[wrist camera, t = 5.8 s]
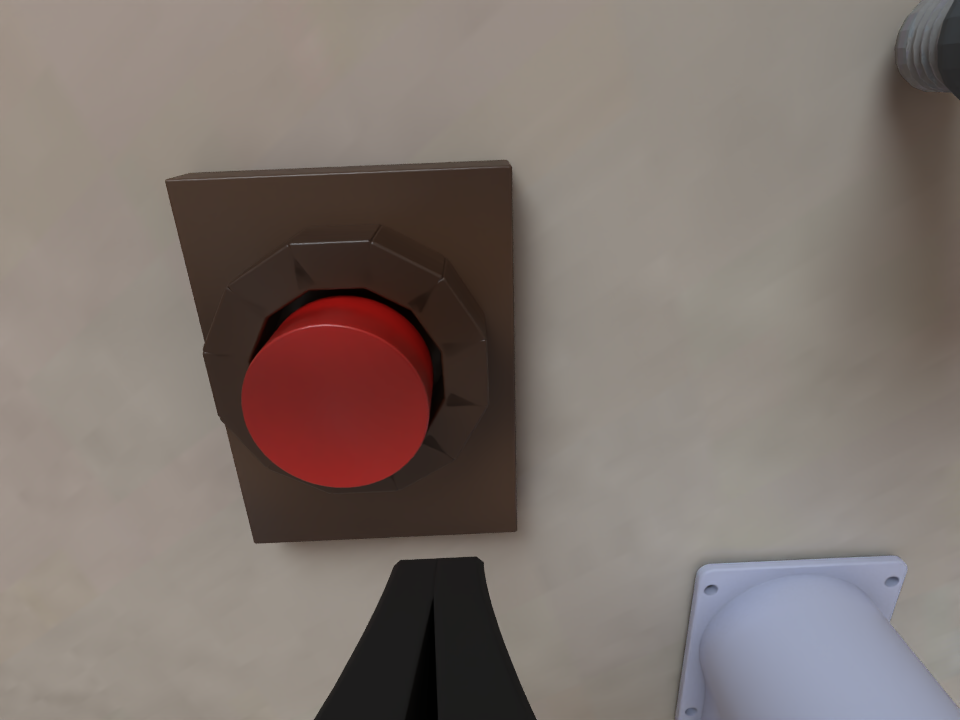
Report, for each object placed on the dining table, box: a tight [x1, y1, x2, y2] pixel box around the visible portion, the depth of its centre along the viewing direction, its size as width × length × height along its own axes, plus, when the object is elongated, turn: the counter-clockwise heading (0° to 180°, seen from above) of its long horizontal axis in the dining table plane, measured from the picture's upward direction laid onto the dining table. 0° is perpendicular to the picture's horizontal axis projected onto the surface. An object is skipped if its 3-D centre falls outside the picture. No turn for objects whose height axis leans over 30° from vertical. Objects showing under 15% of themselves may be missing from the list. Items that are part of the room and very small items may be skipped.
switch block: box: [165, 160, 517, 543], centre depth 17 cm, size 12×9×4 cm
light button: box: [241, 295, 434, 488], centre depth 15 cm, size 4×4×2 cm
